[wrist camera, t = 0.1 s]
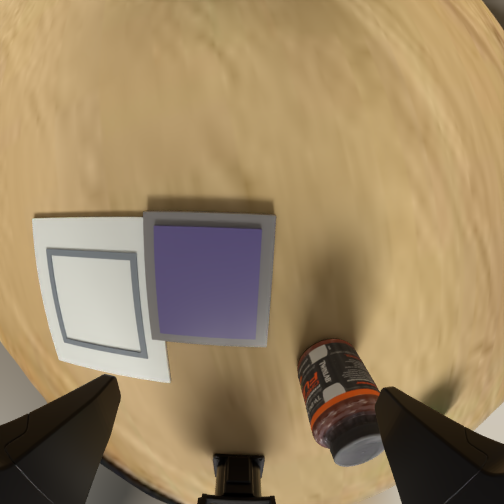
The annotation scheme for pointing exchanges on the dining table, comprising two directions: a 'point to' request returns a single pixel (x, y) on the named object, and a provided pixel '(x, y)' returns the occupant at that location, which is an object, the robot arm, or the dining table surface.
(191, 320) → the ink pad
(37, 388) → the dining table surface
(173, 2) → the dining table surface
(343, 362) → the supplement bottle
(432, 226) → the dining table surface
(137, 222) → the form board
